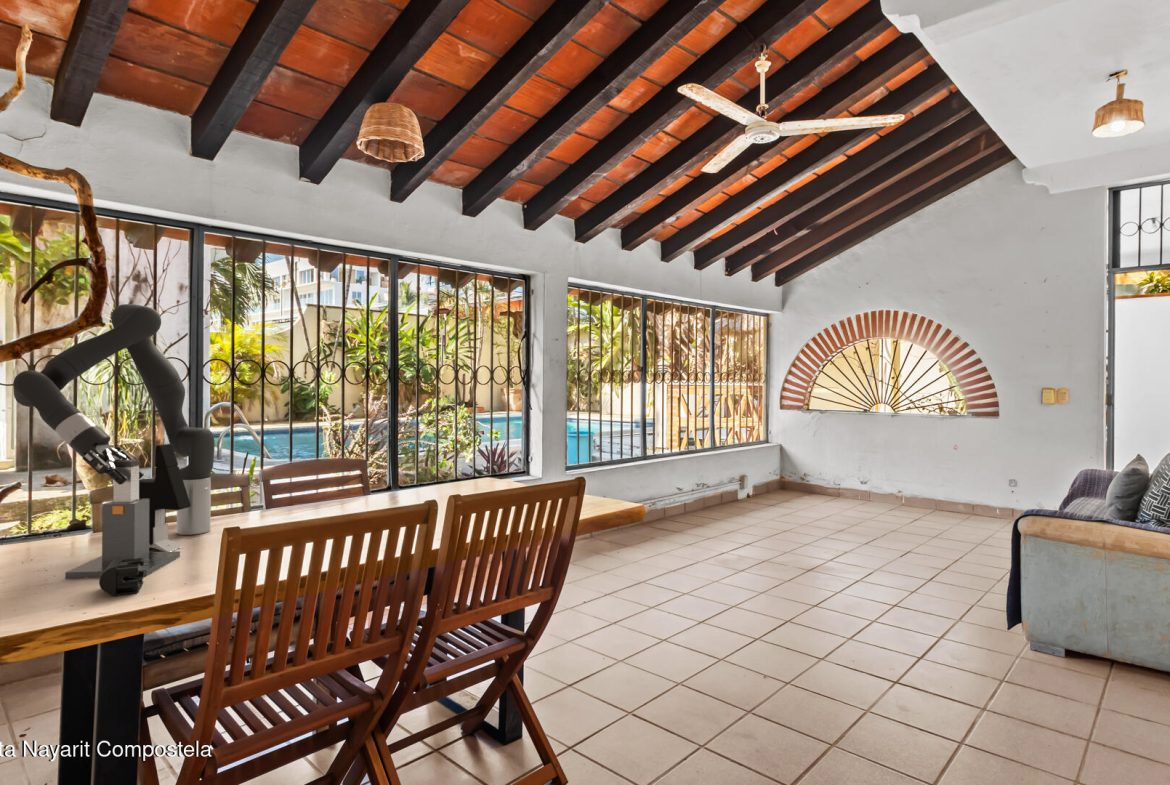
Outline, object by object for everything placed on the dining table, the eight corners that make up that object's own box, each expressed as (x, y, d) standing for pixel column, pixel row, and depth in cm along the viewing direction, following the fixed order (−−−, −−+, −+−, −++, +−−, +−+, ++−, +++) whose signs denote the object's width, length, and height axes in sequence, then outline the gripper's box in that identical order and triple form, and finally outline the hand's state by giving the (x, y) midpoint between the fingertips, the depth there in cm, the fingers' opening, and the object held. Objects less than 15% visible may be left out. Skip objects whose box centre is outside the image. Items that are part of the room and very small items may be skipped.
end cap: (107, 586, 152) (107, 557, 152) (143, 582, 155) (144, 554, 155) (98, 599, 143) (98, 568, 143) (137, 594, 146) (137, 565, 146)
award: (191, 548, 187) (192, 444, 187) (178, 552, 182) (178, 445, 182) (142, 546, 189) (143, 443, 188) (128, 550, 184) (128, 444, 183)
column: (121, 555, 169) (122, 459, 169) (139, 555, 170) (139, 459, 170) (113, 559, 165) (113, 461, 165) (130, 559, 166) (131, 461, 166)
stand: (107, 558, 175) (107, 495, 175) (179, 556, 178) (180, 494, 178) (65, 578, 157) (65, 508, 157) (146, 576, 160) (146, 507, 160)
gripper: (77, 426, 159) (129, 473, 161) (110, 422, 173) (157, 466, 175) (53, 448, 158) (105, 495, 160) (88, 442, 172) (136, 485, 174)
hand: (132, 479), depth 168 cm, fingers open, 7 cm apart
